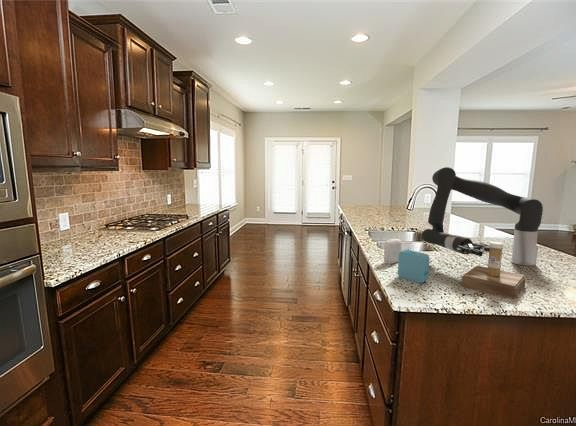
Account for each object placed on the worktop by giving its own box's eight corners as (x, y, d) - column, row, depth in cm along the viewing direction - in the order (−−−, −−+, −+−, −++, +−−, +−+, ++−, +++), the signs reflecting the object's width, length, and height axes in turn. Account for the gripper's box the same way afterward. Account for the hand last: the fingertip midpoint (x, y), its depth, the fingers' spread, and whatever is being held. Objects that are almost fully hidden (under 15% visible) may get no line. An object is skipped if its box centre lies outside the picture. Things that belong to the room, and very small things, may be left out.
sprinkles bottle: (486, 275, 125) (488, 242, 123) (487, 272, 129) (490, 240, 127) (499, 277, 122) (502, 244, 120) (501, 274, 126) (504, 242, 124)
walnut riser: (475, 275, 139) (476, 265, 138) (524, 286, 126) (525, 275, 125) (461, 286, 127) (462, 274, 126) (514, 299, 114) (515, 286, 113)
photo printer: (395, 259, 165) (396, 236, 163) (402, 261, 161) (403, 238, 160) (382, 262, 159) (383, 239, 157) (389, 264, 156) (390, 241, 154)
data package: (428, 281, 132) (430, 254, 131) (423, 284, 130) (424, 256, 128) (402, 274, 142) (403, 249, 140) (397, 276, 139) (398, 250, 137)
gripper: (446, 237, 140) (477, 245, 124) (471, 235, 144) (504, 242, 128) (445, 253, 141) (475, 263, 125) (469, 250, 145) (502, 260, 129)
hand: (490, 253), depth 127 cm, fingers open, 8 cm apart
